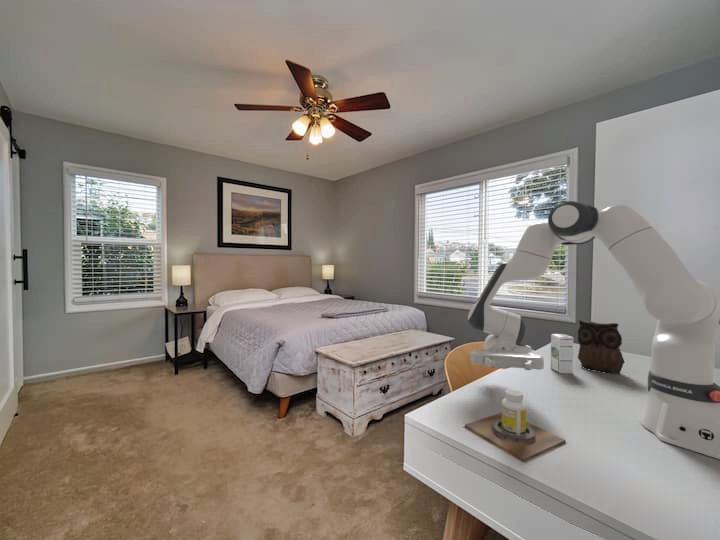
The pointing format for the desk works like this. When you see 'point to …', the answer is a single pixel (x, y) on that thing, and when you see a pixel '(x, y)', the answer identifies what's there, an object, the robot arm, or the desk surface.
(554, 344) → the syrup box
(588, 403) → the desk surface
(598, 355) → the owl
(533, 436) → the board
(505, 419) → the supplement bottle
